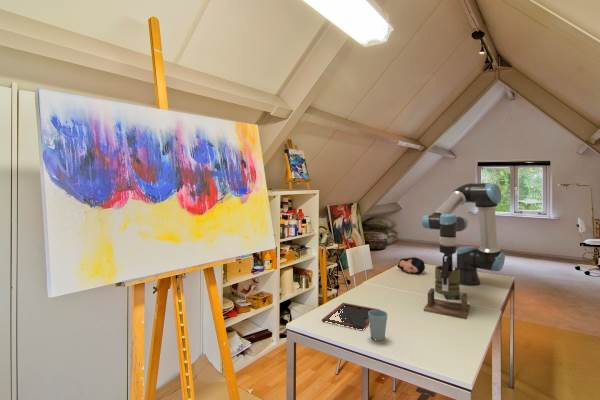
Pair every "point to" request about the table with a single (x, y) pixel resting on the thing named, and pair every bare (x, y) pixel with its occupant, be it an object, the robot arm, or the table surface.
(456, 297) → the small box
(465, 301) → the roll stand
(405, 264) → the head
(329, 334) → the table surface
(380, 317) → the cup
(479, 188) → the robot arm
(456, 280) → the piston
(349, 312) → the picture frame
